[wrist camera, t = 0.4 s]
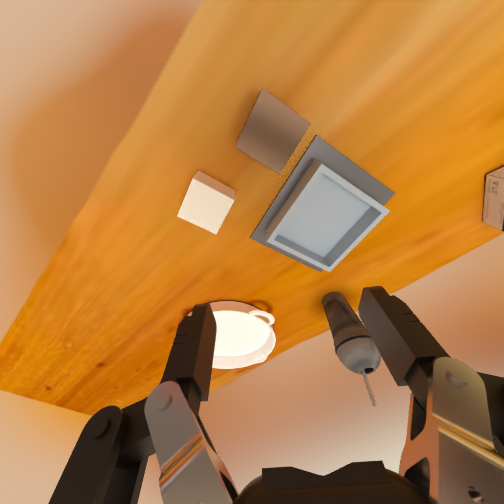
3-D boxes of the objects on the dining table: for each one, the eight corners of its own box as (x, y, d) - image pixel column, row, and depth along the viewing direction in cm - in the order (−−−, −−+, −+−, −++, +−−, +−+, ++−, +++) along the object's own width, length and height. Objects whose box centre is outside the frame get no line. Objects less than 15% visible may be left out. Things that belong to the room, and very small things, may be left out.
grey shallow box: (316, 135, 28) (325, 137, 24) (393, 192, 33) (410, 201, 29) (250, 237, 36) (250, 249, 33) (319, 270, 41) (326, 284, 38)
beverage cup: (351, 303, 47) (411, 407, 30) (320, 314, 48) (361, 417, 32) (345, 282, 43) (410, 387, 27) (312, 294, 45) (353, 400, 28)
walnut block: (259, 93, 25) (262, 87, 20) (298, 122, 27) (310, 123, 22) (236, 141, 28) (234, 147, 23) (273, 164, 30) (279, 174, 25)
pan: (156, 335, 51) (150, 350, 48) (225, 272, 41) (223, 286, 37) (231, 367, 61) (230, 382, 58) (302, 323, 51) (306, 337, 47)
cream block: (198, 170, 30) (192, 178, 26) (235, 190, 32) (234, 200, 28) (184, 204, 33) (177, 216, 29) (219, 221, 35) (216, 234, 31)
